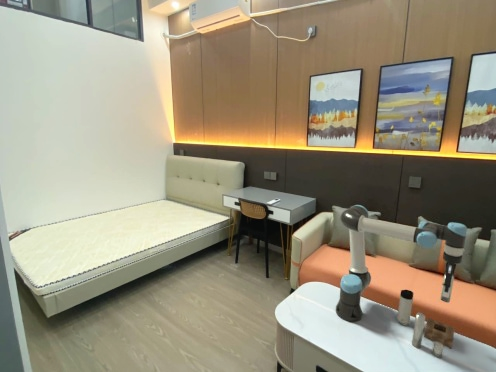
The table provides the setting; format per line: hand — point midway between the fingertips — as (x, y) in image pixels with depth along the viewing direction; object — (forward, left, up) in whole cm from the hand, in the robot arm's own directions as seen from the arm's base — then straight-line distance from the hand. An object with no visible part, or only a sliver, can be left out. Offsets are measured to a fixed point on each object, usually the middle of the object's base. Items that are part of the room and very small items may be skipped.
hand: (445, 294), depth 138 cm
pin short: (+1, -14, -26) cm, 30 cm away
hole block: (0, 0, -26) cm, 26 cm away
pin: (0, 0, -3) cm, 3 cm away
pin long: (-8, -14, -26) cm, 31 cm away
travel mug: (-17, +1, -26) cm, 31 cm away
